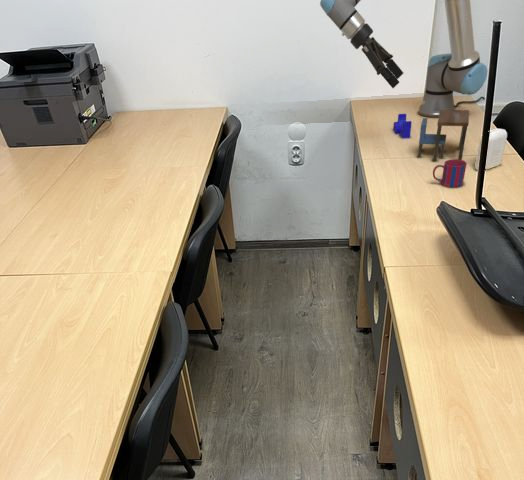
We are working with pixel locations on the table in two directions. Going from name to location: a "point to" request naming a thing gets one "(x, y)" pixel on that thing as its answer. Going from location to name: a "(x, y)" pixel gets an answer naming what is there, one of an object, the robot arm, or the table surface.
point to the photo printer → (494, 148)
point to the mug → (452, 173)
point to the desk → (452, 120)
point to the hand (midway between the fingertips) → (398, 80)
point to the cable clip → (402, 126)
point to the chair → (430, 138)
